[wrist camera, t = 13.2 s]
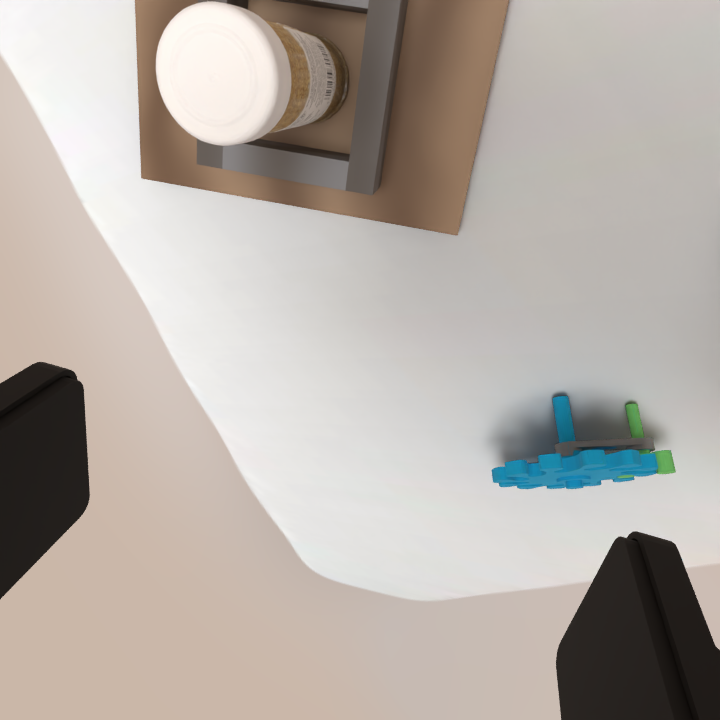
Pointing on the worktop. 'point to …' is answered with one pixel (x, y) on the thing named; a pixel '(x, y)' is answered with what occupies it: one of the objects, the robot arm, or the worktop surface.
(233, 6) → the sprinkles bottle
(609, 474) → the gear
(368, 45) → the caddy
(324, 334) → the worktop surface
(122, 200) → the worktop surface
